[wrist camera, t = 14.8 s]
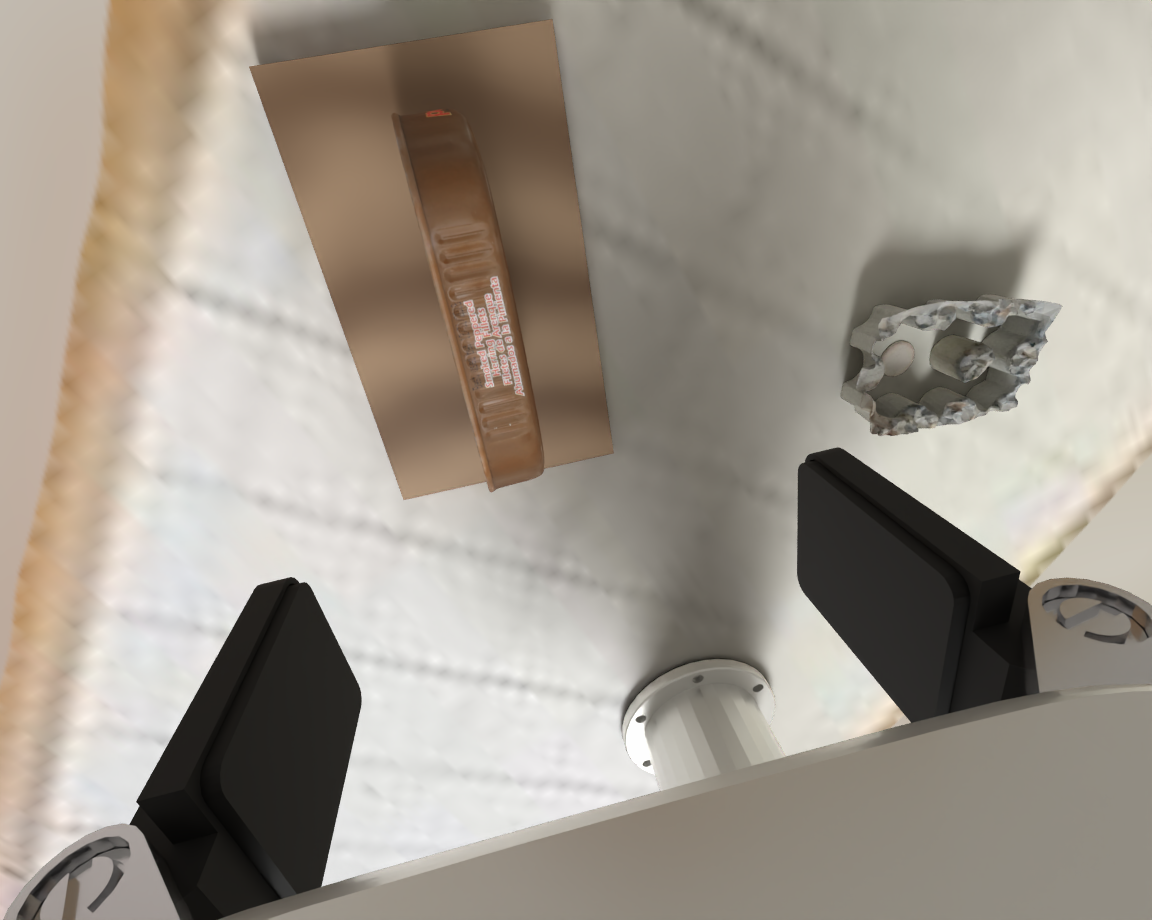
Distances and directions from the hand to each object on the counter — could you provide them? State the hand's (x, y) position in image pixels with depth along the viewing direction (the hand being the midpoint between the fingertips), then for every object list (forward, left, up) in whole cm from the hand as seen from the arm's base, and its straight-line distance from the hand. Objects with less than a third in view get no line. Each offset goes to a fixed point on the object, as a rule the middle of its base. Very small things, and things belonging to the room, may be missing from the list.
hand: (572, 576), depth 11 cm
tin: (+2, +1, -20) cm, 20 cm away
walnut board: (+2, +2, -21) cm, 21 cm away
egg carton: (-7, -24, -22) cm, 33 cm away
